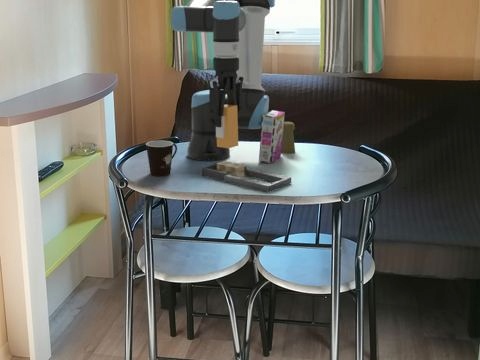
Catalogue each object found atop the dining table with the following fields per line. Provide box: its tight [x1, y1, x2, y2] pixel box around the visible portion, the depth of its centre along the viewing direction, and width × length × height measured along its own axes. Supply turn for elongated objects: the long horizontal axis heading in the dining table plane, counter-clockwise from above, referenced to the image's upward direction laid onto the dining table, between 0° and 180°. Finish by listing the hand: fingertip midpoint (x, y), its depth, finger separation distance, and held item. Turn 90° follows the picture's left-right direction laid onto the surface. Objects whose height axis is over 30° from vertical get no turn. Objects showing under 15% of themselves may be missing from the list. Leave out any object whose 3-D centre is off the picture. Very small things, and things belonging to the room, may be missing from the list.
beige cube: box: [217, 160, 235, 173], centre depth 217 cm, size 4×4×4 cm
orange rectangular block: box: [217, 104, 239, 149], centre depth 199 cm, size 4×4×12 cm
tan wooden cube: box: [227, 162, 245, 178], centre depth 214 cm, size 4×4×4 cm
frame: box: [201, 160, 248, 182], centre depth 217 cm, size 10×11×2 cm
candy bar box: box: [258, 109, 286, 164], centre depth 234 cm, size 11×5×16 cm, turn 159°
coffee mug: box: [145, 140, 178, 177], centre depth 217 cm, size 12×9×10 cm
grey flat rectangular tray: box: [223, 167, 292, 193], centre depth 209 cm, size 17×12×2 cm
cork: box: [281, 121, 296, 155], centre depth 246 cm, size 6×6×11 cm
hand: (225, 135), depth 200 cm, fingers closed on orange rectangular block, 4 cm apart
